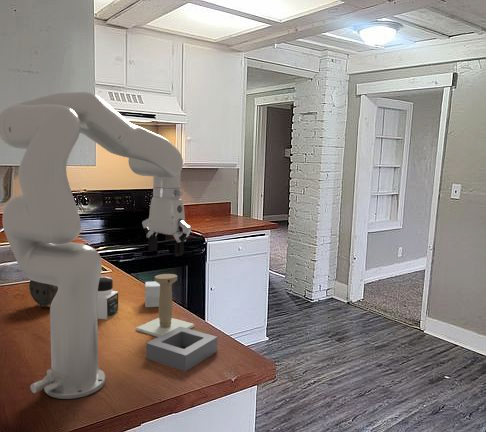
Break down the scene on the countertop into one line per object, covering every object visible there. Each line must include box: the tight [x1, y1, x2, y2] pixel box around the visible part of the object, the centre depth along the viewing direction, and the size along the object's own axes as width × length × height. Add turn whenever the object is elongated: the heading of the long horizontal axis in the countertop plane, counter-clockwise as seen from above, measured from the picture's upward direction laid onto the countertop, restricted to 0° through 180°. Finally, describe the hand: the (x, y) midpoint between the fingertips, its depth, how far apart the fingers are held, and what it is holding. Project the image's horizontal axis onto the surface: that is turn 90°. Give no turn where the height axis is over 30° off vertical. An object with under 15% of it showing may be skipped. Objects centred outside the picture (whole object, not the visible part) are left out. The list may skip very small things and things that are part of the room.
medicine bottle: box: [97, 276, 119, 321], centre depth 140 cm, size 7×7×12 cm
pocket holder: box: [145, 327, 218, 372], centre depth 114 cm, size 13×12×4 cm
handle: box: [154, 273, 178, 327], centre depth 130 cm, size 5×6×15 cm
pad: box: [135, 317, 195, 338], centre depth 131 cm, size 12×12×1 cm
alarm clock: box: [28, 279, 58, 310], centre depth 144 cm, size 11×5×16 cm, turn 65°
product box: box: [144, 280, 160, 308], centre depth 152 cm, size 6×6×7 cm
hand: (165, 253), depth 128 cm, fingers open, 9 cm apart
